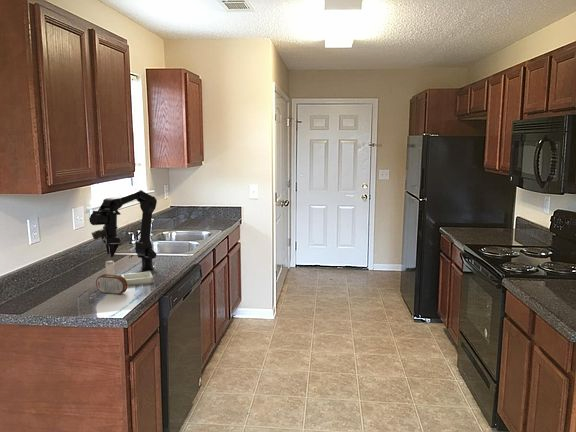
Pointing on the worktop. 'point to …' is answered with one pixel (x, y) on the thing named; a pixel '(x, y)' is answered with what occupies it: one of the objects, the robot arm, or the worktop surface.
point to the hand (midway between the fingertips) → (110, 255)
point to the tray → (138, 278)
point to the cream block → (110, 268)
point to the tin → (111, 284)
